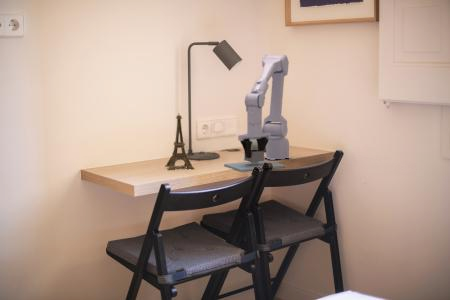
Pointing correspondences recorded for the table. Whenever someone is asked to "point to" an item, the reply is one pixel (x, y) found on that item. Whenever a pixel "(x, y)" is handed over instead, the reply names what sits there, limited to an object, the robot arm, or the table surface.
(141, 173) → the table surface
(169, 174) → the table surface
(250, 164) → the piston stand
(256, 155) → the dark grey square block
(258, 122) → the robot arm
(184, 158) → the eiffel tower
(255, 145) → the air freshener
